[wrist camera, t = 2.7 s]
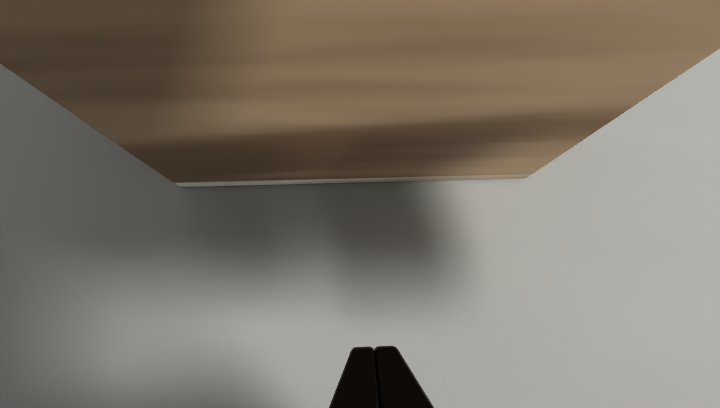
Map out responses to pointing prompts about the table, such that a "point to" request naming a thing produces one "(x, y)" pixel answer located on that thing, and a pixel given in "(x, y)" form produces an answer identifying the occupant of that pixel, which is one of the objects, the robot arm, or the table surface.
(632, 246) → the table surface
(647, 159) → the table surface
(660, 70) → the walnut block
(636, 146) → the table surface
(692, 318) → the table surface
